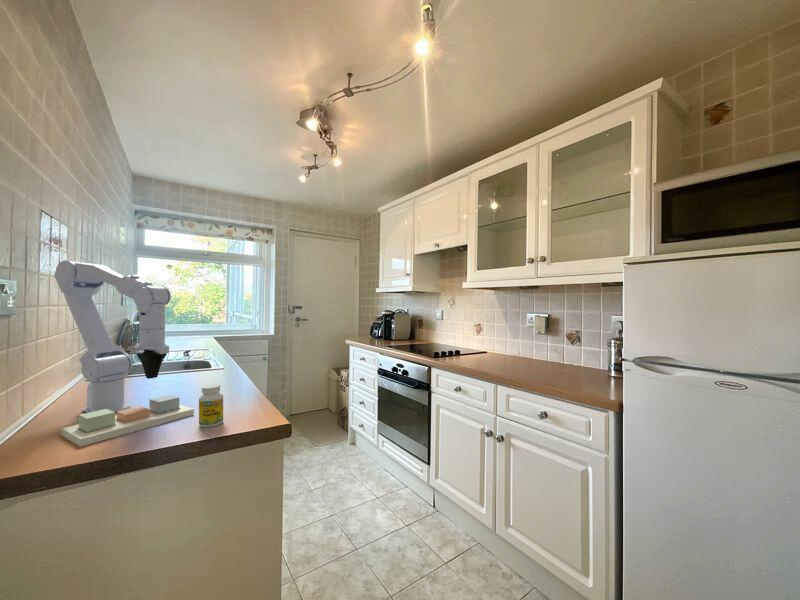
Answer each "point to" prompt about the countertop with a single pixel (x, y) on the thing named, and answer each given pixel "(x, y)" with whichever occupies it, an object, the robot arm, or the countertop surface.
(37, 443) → the countertop surface
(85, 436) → the panel
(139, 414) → the terracotta button
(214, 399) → the supplement bottle
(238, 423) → the countertop surface
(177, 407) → the slate button
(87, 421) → the sage button
